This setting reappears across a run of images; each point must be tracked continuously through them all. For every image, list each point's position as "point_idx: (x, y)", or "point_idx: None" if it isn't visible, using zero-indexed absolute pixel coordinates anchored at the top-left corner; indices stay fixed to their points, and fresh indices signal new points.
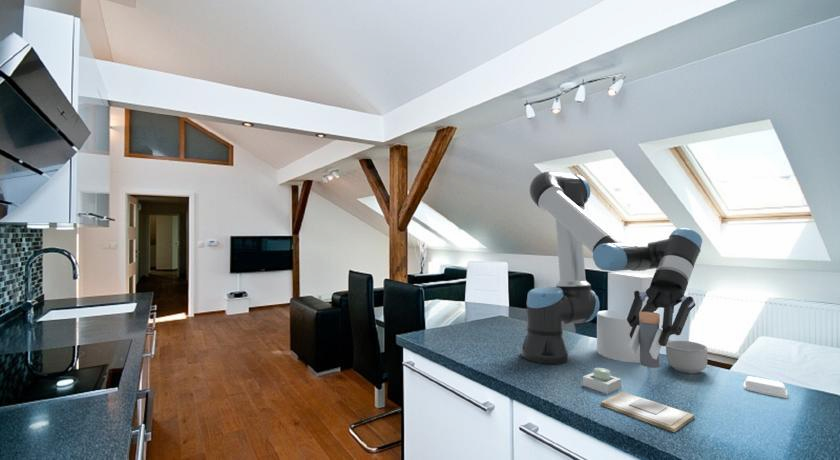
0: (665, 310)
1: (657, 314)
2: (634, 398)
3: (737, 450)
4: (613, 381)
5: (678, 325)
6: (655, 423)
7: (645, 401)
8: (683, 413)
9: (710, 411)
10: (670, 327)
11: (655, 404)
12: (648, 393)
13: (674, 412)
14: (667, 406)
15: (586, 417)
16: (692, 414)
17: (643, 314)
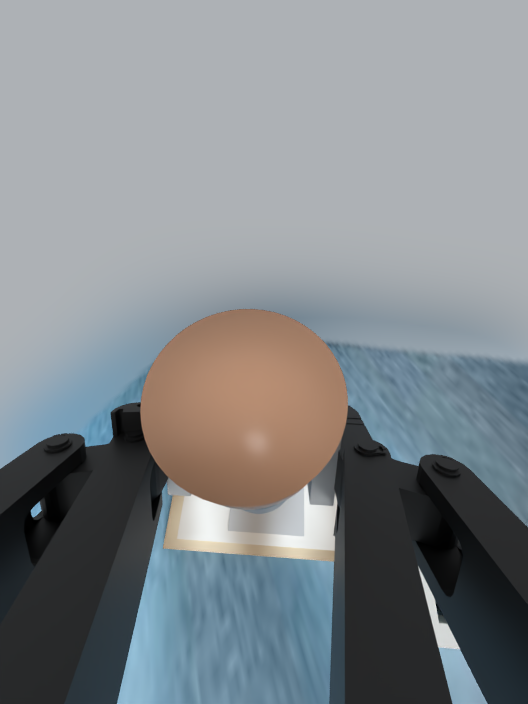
0: (58, 643)
1: (159, 392)
2: (316, 524)
3: (83, 434)
4: None
5: (19, 458)
6: None
7: (284, 521)
8: (186, 527)
9: (130, 672)
10: (97, 462)
11: (257, 521)
12: (324, 671)
13: (206, 511)
14: (232, 549)
15: (335, 344)
16: (167, 545)
17: (268, 312)
